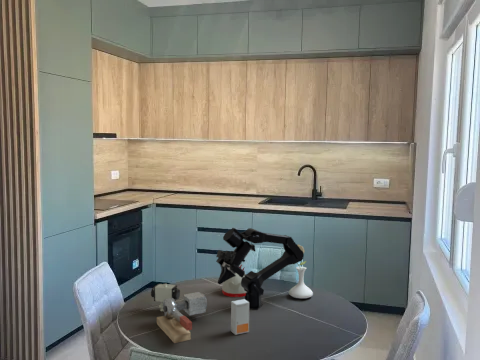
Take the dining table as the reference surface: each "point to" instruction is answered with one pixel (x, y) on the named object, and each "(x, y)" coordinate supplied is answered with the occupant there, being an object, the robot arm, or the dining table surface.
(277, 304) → the dining table surface
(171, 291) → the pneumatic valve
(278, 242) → the robot arm
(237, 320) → the skincare box
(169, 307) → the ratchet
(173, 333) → the oak cradle
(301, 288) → the flower in vase
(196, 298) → the cube on metal disc
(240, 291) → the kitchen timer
